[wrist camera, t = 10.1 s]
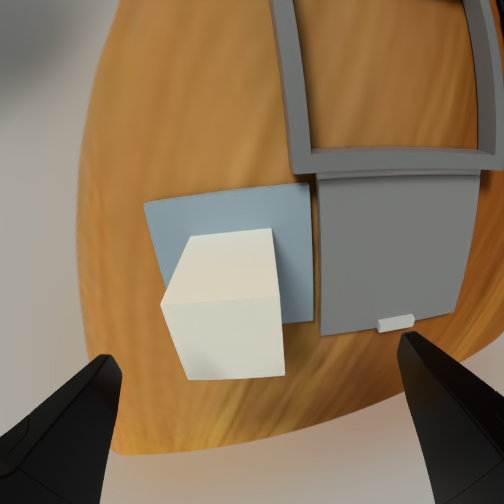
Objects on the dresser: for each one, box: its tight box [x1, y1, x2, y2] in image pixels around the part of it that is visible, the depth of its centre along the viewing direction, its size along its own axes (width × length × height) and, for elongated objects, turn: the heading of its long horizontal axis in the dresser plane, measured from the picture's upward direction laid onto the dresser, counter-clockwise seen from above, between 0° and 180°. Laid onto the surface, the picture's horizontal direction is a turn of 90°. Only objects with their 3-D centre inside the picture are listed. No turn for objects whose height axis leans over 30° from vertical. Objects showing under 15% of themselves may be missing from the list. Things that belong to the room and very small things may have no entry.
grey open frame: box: [269, 0, 504, 336], centre depth 15 cm, size 15×27×2 cm, turn 7°
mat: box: [143, 182, 313, 324], centre depth 20 cm, size 10×10×1 cm
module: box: [160, 228, 285, 380], centre depth 16 cm, size 5×5×7 cm
